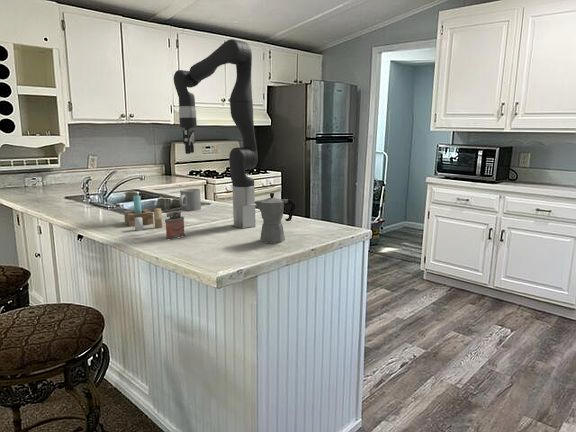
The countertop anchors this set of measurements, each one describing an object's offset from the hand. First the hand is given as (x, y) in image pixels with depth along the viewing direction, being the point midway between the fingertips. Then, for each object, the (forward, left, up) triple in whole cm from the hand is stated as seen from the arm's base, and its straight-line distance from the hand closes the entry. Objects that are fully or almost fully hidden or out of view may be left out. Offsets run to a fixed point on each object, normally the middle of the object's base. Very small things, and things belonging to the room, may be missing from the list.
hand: (189, 153), depth 197 cm
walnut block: (0, +25, -30) cm, 39 cm away
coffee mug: (+18, -4, -30) cm, 35 cm away
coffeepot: (-58, -11, -30) cm, 66 cm away
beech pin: (-13, +20, -30) cm, 38 cm away
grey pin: (-13, +28, -30) cm, 43 cm away
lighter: (-33, +19, -30) cm, 48 cm away
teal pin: (0, +25, -30) cm, 39 cm away
